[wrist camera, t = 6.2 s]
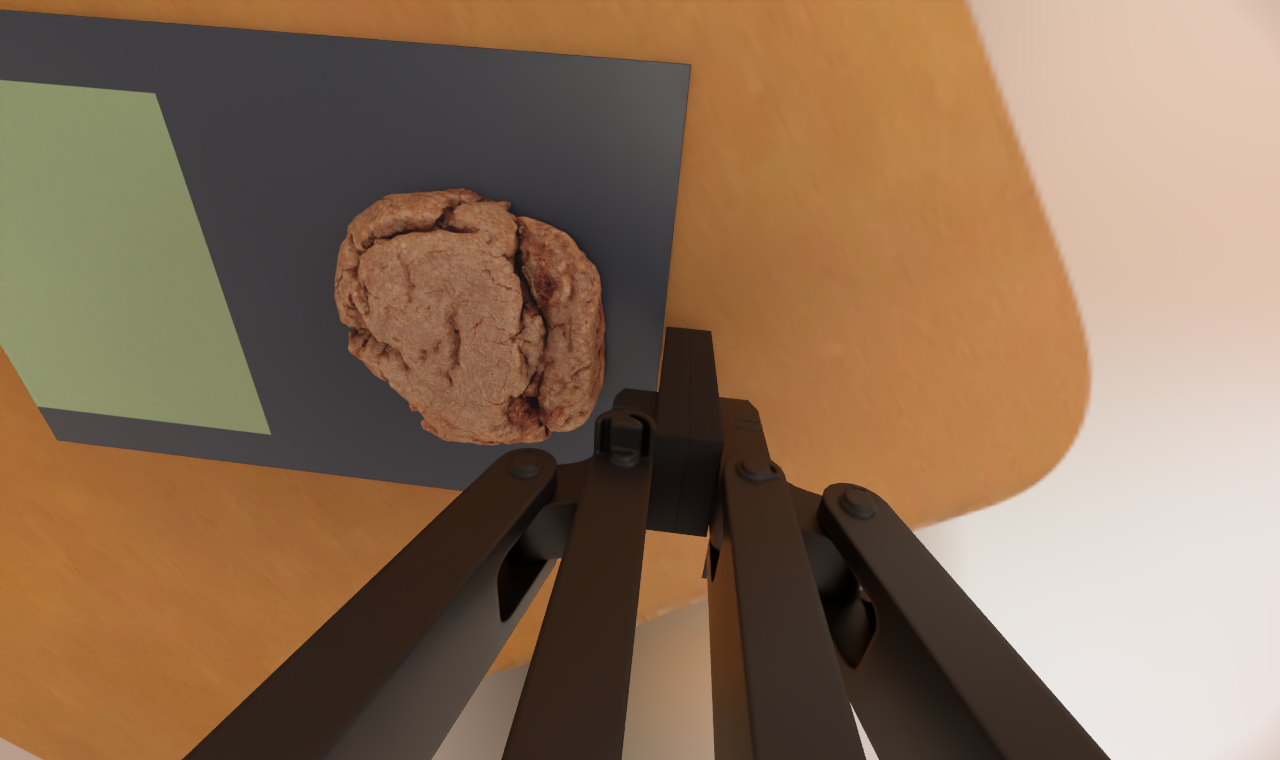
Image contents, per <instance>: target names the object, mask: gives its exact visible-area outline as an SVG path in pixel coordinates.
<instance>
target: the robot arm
mask: <svg viewBox="0 0 1280 760" xmlns="http://www.w3.org/2000/svg"><path fill="white" fill-rule="evenodd" d="M760 422H761V421H760V417H759V413H758V410H757V409H756V408H755V407H754V406H753V405H752V404H751V403H750V402H749V401H748V400H740V399H731V398H722V397H719V393H718V384H717V376H716V368H715V360H714V351H713V343H712V335H711V331H705V330H695V329H686V328H676V327H667V328H666V336H665V345H664V353H663V362H662V370H661V379H660V387H659V392H656V391H647V390H638V389H629V388H624V389H623V390H622V391H621V392H619V393H618V394H617V395H616V396H615V398H614V402H613V405H612V409H611V410H609V411H606V412H604V413H602V414H600V415H599V416H598V417H597V419H596V420H595V429H594V453H593V456H591V457H590V458H588V459H586V460H583V461H580V462H575V463H569V464H559V465H557V462H556V459H555V458H554V457H553V456H552V455H551V454H550V453H548V452H546V451H544V450H542V449H536V448H520V449H515V450H512V451H509V452H507V453H505V454H504V455H502V456H501V457H499V458H498V459H497V460H496V461H494V462H493V463H492V464H491V465H490V466H489V467H488V468H487V469H486V470H485V471H484V472H483V473H482V474H481V475H480V476H479V477H478V478H477V479H476V480H475V481H474V482H472V483H471V484H470V485H469V486H468V487H467V488H466V489H465V490H464V491H463V492H462V493H461V494H460V495H459V496H458V497H457V498H456V499H455V500H454V501H453V502H452V503H450V504H449V505H448V506H447V507H446V508H445V509H444V510H443V511H442V512H441V513H440V514H439V515H438V516H437V517H436V518H435V519H434V520H433V521H432V522H431V523H430V524H428V525H427V526H426V527H425V528H424V529H423V530H422V531H421V532H420V533H419V534H418V535H417V536H416V537H415V538H414V539H413V540H412V541H411V542H410V543H409V544H408V545H406V546H405V547H404V548H403V549H402V550H401V551H400V552H399V553H398V554H397V555H396V556H395V557H394V558H393V559H392V560H391V561H390V562H389V563H388V564H387V565H386V566H384V567H383V568H382V569H381V570H380V571H379V572H378V573H377V574H376V575H375V576H374V577H373V578H372V579H371V580H370V581H369V582H368V583H367V584H366V585H365V586H364V587H362V588H361V589H360V590H359V591H358V592H357V593H356V594H355V595H354V596H353V597H352V598H351V599H350V600H349V601H348V602H347V603H346V604H345V605H344V606H343V607H341V608H340V609H339V610H338V611H337V612H336V613H335V614H334V615H333V616H332V617H331V618H330V619H329V620H328V621H327V622H326V623H325V624H324V625H323V626H322V627H321V628H319V629H318V630H317V631H316V632H315V633H314V634H313V635H312V636H311V637H310V638H309V639H308V640H307V641H306V642H305V643H304V644H303V645H302V646H301V647H300V648H299V649H297V650H296V651H295V652H294V653H293V654H292V655H291V656H290V657H289V658H288V659H287V660H286V661H285V662H284V663H283V664H282V665H281V666H280V667H279V668H278V669H277V670H275V671H274V672H273V673H272V674H271V675H270V676H269V677H268V678H267V679H266V680H265V681H264V682H263V683H262V684H261V685H260V686H259V687H258V688H257V689H256V690H255V691H253V692H252V693H251V694H250V695H249V696H248V697H247V698H246V699H245V700H244V701H243V702H242V703H241V704H240V705H239V706H238V707H237V708H236V709H235V710H234V711H233V712H231V713H230V714H229V715H228V716H227V717H226V718H225V719H224V720H223V721H222V722H221V723H220V724H219V725H218V726H217V727H216V728H215V729H214V730H213V731H212V732H211V733H209V734H208V735H207V736H206V737H205V738H204V739H203V740H202V741H201V742H200V743H199V744H198V745H197V746H196V747H195V748H194V749H193V750H192V751H191V752H190V753H188V754H187V755H186V756H185V757H184V758H183V759H182V760H431V759H432V758H433V756H434V755H435V753H436V751H437V750H438V748H439V747H440V745H441V743H442V742H443V740H444V739H445V737H446V736H447V734H448V733H449V731H450V729H451V728H452V726H453V724H454V723H455V722H456V720H457V718H458V717H459V715H460V714H461V712H462V711H463V709H464V707H465V706H466V704H467V702H468V701H469V699H470V698H471V696H472V695H473V693H474V692H475V690H476V689H477V687H478V685H479V684H480V682H481V681H482V679H483V678H484V676H485V674H486V673H487V671H488V670H489V668H490V667H491V665H492V663H493V662H494V660H495V659H496V657H497V656H498V654H499V652H500V651H501V649H502V648H503V646H504V645H505V643H506V641H507V640H508V638H509V637H510V635H511V634H512V632H513V630H514V629H515V627H516V626H517V624H518V623H519V621H520V619H521V618H522V616H523V615H524V613H525V612H526V610H527V608H528V607H529V605H530V604H531V602H532V601H533V599H534V597H535V596H536V594H537V593H538V591H539V590H540V588H541V586H542V585H543V583H544V582H545V580H546V579H547V577H548V575H549V574H550V572H551V571H552V569H553V568H554V566H555V564H556V561H557V558H562V560H561V563H560V566H559V570H558V573H557V576H556V580H555V583H554V586H553V590H552V593H551V596H550V600H549V603H548V606H547V610H546V613H545V616H544V620H543V623H542V626H541V630H540V633H539V636H538V640H537V643H536V646H535V650H534V653H533V656H532V660H531V663H530V666H529V669H528V673H527V677H526V679H525V683H524V687H523V689H522V693H521V696H520V700H519V703H518V706H517V710H516V713H515V716H514V719H513V723H512V726H511V729H510V733H509V736H508V739H507V743H506V746H505V749H504V753H503V756H502V760H621V759H622V749H623V748H622V747H623V740H624V739H623V738H624V730H625V721H626V711H627V702H628V692H629V683H630V674H631V673H630V672H631V664H632V655H633V645H634V635H635V627H636V617H637V608H638V598H639V589H640V580H641V570H642V561H643V551H644V542H645V532H646V530H654V531H662V532H670V533H678V534H686V535H694V536H702V537H707V531H708V526H709V531H710V539H709V544H708V549H707V554H706V559H705V565H704V570H703V575H702V578H706V579H708V602H709V628H710V653H711V676H712V702H713V726H714V752H715V760H866V757H865V754H864V750H863V747H862V743H861V740H860V737H859V733H858V730H857V726H856V722H855V719H854V716H853V712H852V708H851V705H852V706H853V708H854V711H855V713H856V715H857V717H858V719H859V720H860V723H861V725H862V727H863V729H864V731H865V733H866V734H867V736H868V738H869V740H870V742H871V744H872V746H873V748H874V750H875V752H876V754H877V756H878V758H879V760H1111V759H1110V758H1109V757H1108V756H1107V755H1106V754H1105V753H1104V751H1103V750H1102V749H1101V748H1100V747H1099V746H1098V744H1097V743H1096V742H1095V741H1094V740H1093V739H1092V737H1091V736H1090V735H1089V734H1088V733H1087V732H1086V731H1085V730H1084V728H1083V727H1082V726H1081V725H1080V724H1079V723H1078V721H1077V720H1076V719H1075V718H1074V717H1073V716H1072V715H1071V713H1070V712H1069V711H1068V710H1067V709H1066V708H1065V707H1064V705H1063V704H1062V703H1061V702H1060V701H1059V700H1058V699H1057V697H1056V696H1055V695H1054V694H1053V693H1052V692H1051V691H1050V689H1049V688H1048V687H1047V686H1046V685H1045V684H1044V683H1043V681H1042V680H1041V679H1040V678H1039V677H1038V676H1037V674H1035V672H1034V671H1033V670H1032V669H1031V668H1030V666H1029V665H1028V664H1027V663H1026V662H1025V661H1024V660H1023V658H1022V657H1021V656H1020V655H1019V654H1018V653H1017V652H1016V650H1015V649H1014V648H1013V647H1012V646H1011V645H1010V644H1009V643H1008V641H1007V640H1006V639H1005V638H1004V637H1003V636H1002V634H1001V633H1000V632H999V631H998V630H997V629H996V628H995V627H994V625H993V624H992V623H991V622H990V621H989V620H988V618H987V617H986V616H985V615H984V614H983V613H982V612H981V610H980V609H979V608H978V607H977V606H976V605H975V603H974V602H973V601H972V600H971V599H970V598H969V597H968V596H967V594H966V593H965V592H964V591H963V590H962V589H961V588H960V586H959V585H958V584H957V583H956V582H955V581H954V580H953V578H952V577H951V576H950V575H949V574H948V573H947V571H945V569H944V568H943V567H942V566H941V565H940V563H939V562H938V561H937V560H936V559H935V558H934V557H933V555H932V554H931V553H930V552H929V551H928V550H927V549H926V548H925V546H924V545H923V544H922V543H921V542H920V541H919V539H918V538H917V537H916V536H915V535H914V534H913V532H912V531H911V530H910V529H909V528H908V527H907V526H906V524H905V523H904V522H903V521H902V520H901V519H900V518H899V516H898V515H897V514H896V513H895V512H894V511H893V510H892V508H891V507H890V506H889V505H888V504H887V503H886V502H885V501H884V500H883V499H882V498H880V497H879V496H878V495H877V494H875V493H873V492H871V491H870V490H868V489H866V488H864V487H861V486H858V485H854V484H848V483H837V484H832V485H829V486H828V487H827V488H826V489H824V492H823V495H822V496H821V495H818V494H815V493H812V492H809V491H806V490H803V489H801V488H798V487H796V486H794V485H792V484H790V483H788V482H787V481H786V478H785V474H784V473H783V471H782V469H781V468H780V467H779V466H778V465H777V464H776V463H774V462H773V461H772V460H771V459H770V455H769V452H768V448H767V444H766V440H765V436H764V432H763V429H762V425H761V423H760ZM850 703H851V705H850Z"/></svg>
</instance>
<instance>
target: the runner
mask: <svg viewBox="0 0 1280 760" xmlns="http://www.w3.org/2000/svg"><path fill="white" fill-rule="evenodd" d="M690 69H691V65H690V64H680V63H667V62H655V61H642V60H629V59H617V58H604V57H592V56H579V55H566V54H554V53H541V52H528V51H516V50H503V49H490V48H478V47H465V46H453V45H440V44H427V43H415V42H402V41H389V40H377V39H364V38H351V37H339V36H326V35H313V34H301V33H288V32H276V31H263V30H250V29H238V28H225V27H212V26H200V25H187V24H174V23H162V22H149V21H137V20H124V19H111V18H99V17H86V16H73V15H61V14H48V13H35V12H23V11H10V10H0V345H1V346H2V348H3V350H4V351H5V353H6V355H7V356H8V358H9V360H10V361H11V363H12V365H13V366H14V368H15V370H16V371H17V373H18V375H19V376H20V378H21V380H22V381H23V383H24V385H25V387H26V388H27V390H28V392H29V393H30V395H31V397H32V398H33V400H34V402H35V403H36V405H37V407H38V408H39V410H40V412H41V413H42V415H43V417H44V418H45V420H46V422H47V423H48V425H49V427H50V428H51V430H52V432H53V434H54V435H55V437H56V439H57V440H59V441H67V442H75V443H83V444H91V445H99V446H107V447H115V448H123V449H131V450H139V451H147V452H155V453H163V454H171V455H179V456H187V457H195V458H203V459H211V460H219V461H227V462H235V463H243V464H251V465H259V466H267V467H275V468H283V469H291V470H299V471H307V472H315V473H323V474H331V475H339V476H348V477H356V478H364V479H372V480H380V481H388V482H396V483H404V484H412V485H420V486H428V487H436V488H444V489H452V490H460V491H464V490H465V489H466V488H467V487H468V486H469V485H470V484H471V483H472V482H474V481H475V480H476V479H477V478H478V477H479V476H480V475H481V474H482V473H483V472H484V471H485V470H486V469H487V468H488V467H489V466H490V465H491V464H492V463H493V462H494V461H496V460H497V459H498V458H499V457H501V456H502V455H504V454H505V453H507V452H509V451H512V450H515V449H520V448H536V449H542V450H544V451H546V452H548V453H550V454H551V455H552V456H553V457H554V458H555V459H556V462H557V465H559V464H569V463H575V462H580V461H583V460H586V459H588V458H590V457H591V456H593V453H594V429H595V420H596V419H597V417H598V416H599V415H600V414H602V413H604V412H606V411H609V410H611V409H612V405H613V402H614V398H615V396H616V395H617V394H618V393H619V392H621V391H622V390H623V389H624V388H629V389H638V390H647V391H656V389H657V380H658V370H659V361H660V351H661V342H662V333H663V323H664V314H665V304H666V295H667V286H668V276H669V267H670V257H671V248H672V239H673V229H674V220H675V210H676V201H677V191H678V182H679V173H680V163H681V154H682V144H683V135H684V126H685V116H686V107H687V97H688V88H689V79H690ZM450 188H452V189H456V188H464V189H470V190H472V191H474V192H476V193H478V194H479V195H480V196H483V197H485V198H488V199H490V200H493V201H496V202H500V201H506V202H510V203H511V205H510V210H509V213H511V214H513V215H515V216H516V217H528V218H531V219H535V220H538V221H540V222H543V223H546V224H548V225H551V226H553V227H555V228H556V229H558V230H560V231H562V232H565V233H567V234H568V235H569V236H570V237H571V238H572V239H573V240H574V242H575V243H576V245H577V246H578V248H579V250H581V251H583V252H584V253H585V254H586V257H587V258H588V259H589V260H590V261H591V262H592V263H593V264H594V265H595V267H596V269H597V271H598V274H599V276H600V281H601V287H602V288H603V290H602V293H601V302H602V306H603V313H604V322H605V326H606V329H605V332H604V343H605V350H604V355H605V362H606V364H605V369H604V381H603V386H602V389H601V391H600V393H599V395H598V398H597V401H596V404H595V406H594V408H593V410H592V412H591V414H590V416H589V418H588V419H587V420H586V422H585V423H584V424H583V425H581V426H580V427H578V428H576V429H574V430H571V431H567V432H556V431H553V432H552V434H551V436H550V437H549V438H548V439H546V440H543V441H541V442H536V443H523V442H521V443H512V444H504V443H501V444H498V445H479V444H475V443H471V442H467V443H462V442H454V441H446V440H443V439H441V438H439V437H437V436H436V435H434V434H432V433H430V432H428V431H426V430H425V429H423V427H422V425H421V421H422V420H423V419H424V417H423V416H422V415H421V413H420V412H419V411H415V412H412V411H411V409H410V407H409V402H408V401H407V400H406V399H405V398H403V397H402V396H401V395H400V394H399V393H398V392H397V391H396V390H394V389H393V388H392V387H391V386H390V385H389V383H388V382H386V381H384V380H382V379H380V378H378V377H377V376H375V375H374V374H373V373H372V372H371V371H370V370H369V369H368V367H367V366H366V365H365V364H364V363H363V361H362V360H360V359H358V358H357V357H355V356H354V355H352V354H351V353H350V351H349V350H348V346H349V334H348V332H350V331H353V327H349V326H347V325H346V324H343V323H342V322H341V320H340V317H339V311H338V308H337V305H336V301H335V298H334V294H335V273H336V267H337V262H338V254H339V250H340V246H341V244H342V242H343V241H344V240H345V239H346V236H347V234H348V231H347V230H348V225H349V224H350V223H351V222H352V221H353V219H354V218H355V217H356V216H357V215H359V214H360V213H362V212H363V211H364V210H365V209H367V208H369V207H370V206H371V205H372V204H374V203H375V202H376V201H378V200H382V198H383V197H385V196H387V195H390V194H405V193H414V192H416V191H419V192H433V191H445V190H448V189H450Z"/></svg>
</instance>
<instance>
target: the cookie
mask: <svg viewBox="0 0 1280 760" xmlns="http://www.w3.org/2000/svg"><path fill="white" fill-rule="evenodd" d="M510 205H511V203H510V202H506V201H500V202H496V201H493V200H490V199H488V198H485V197H483V196H480V195H479V194H478V193H476V192H474V191H472V190H470V189H464V188H456V189H452V188H450V189H448V190H445V191H433V192H419V191H416V192H414V193H405V194H390V195H387V196H385V197H383V198H382V200H378V201H376V202H375V203H374V204H372V205H371V206H370V207H369V208H367V209H365V210H364V211H363V212H362V213H360V214H359V215H357V216H356V217H355V218H354V219H353V221H352V222H351V223H350V224H349V225H348V230H347V231H348V234H347V236H346V239H345V240H344V241H343V242H342V244H341V246H340V250H339V254H338V262H337V267H336V273H335V294H334V298H335V301H336V305H337V308H338V311H339V317H340V320H341V322H342V323H343V324H346V325H347V326H349V327H353V331H350V332H348V334H349V346H348V350H349V351H350V353H351V354H352V355H354V356H355V357H357V358H358V359H360V360H362V361H363V363H364V364H365V365H366V366H367V367H368V369H369V370H370V371H371V372H372V373H373V374H374V375H375V376H377V377H378V378H380V379H382V380H384V381H386V382H388V383H389V385H390V386H391V387H392V388H393V389H394V390H396V391H397V392H398V393H399V394H400V395H401V396H402V397H403V398H405V399H406V400H407V401H408V402H409V407H410V409H411V411H412V412H415V411H419V412H420V413H421V415H422V416H423V417H424V419H423V420H422V421H421V425H422V427H423V429H425V430H426V431H428V432H430V433H432V434H434V435H436V436H437V437H439V438H441V439H443V440H446V441H454V442H462V443H467V442H471V443H475V444H479V445H498V444H501V443H504V444H512V443H521V442H523V443H536V442H541V441H543V440H546V439H548V438H549V437H550V436H551V434H552V432H553V431H556V432H567V431H571V430H574V429H576V428H578V427H580V426H581V425H583V424H584V423H585V422H586V420H587V419H588V418H589V416H590V414H591V412H592V410H593V408H594V406H595V404H596V401H597V398H598V395H599V393H600V391H601V389H602V386H603V381H604V369H605V364H606V362H605V355H604V350H605V343H604V332H605V329H606V326H605V322H604V313H603V306H602V302H601V293H602V290H603V288H602V287H601V281H600V276H599V274H598V271H597V269H596V267H595V265H594V264H593V263H592V262H591V261H590V260H589V259H588V258H587V257H586V254H585V253H584V252H583V251H581V250H579V248H578V246H577V245H576V243H575V242H574V240H573V239H572V238H571V237H570V236H569V235H568V234H567V233H565V232H562V231H560V230H558V229H556V228H555V227H553V226H551V225H548V224H546V223H543V222H540V221H538V220H535V219H531V218H528V217H516V216H515V215H513V214H511V213H509V210H510Z"/></svg>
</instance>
